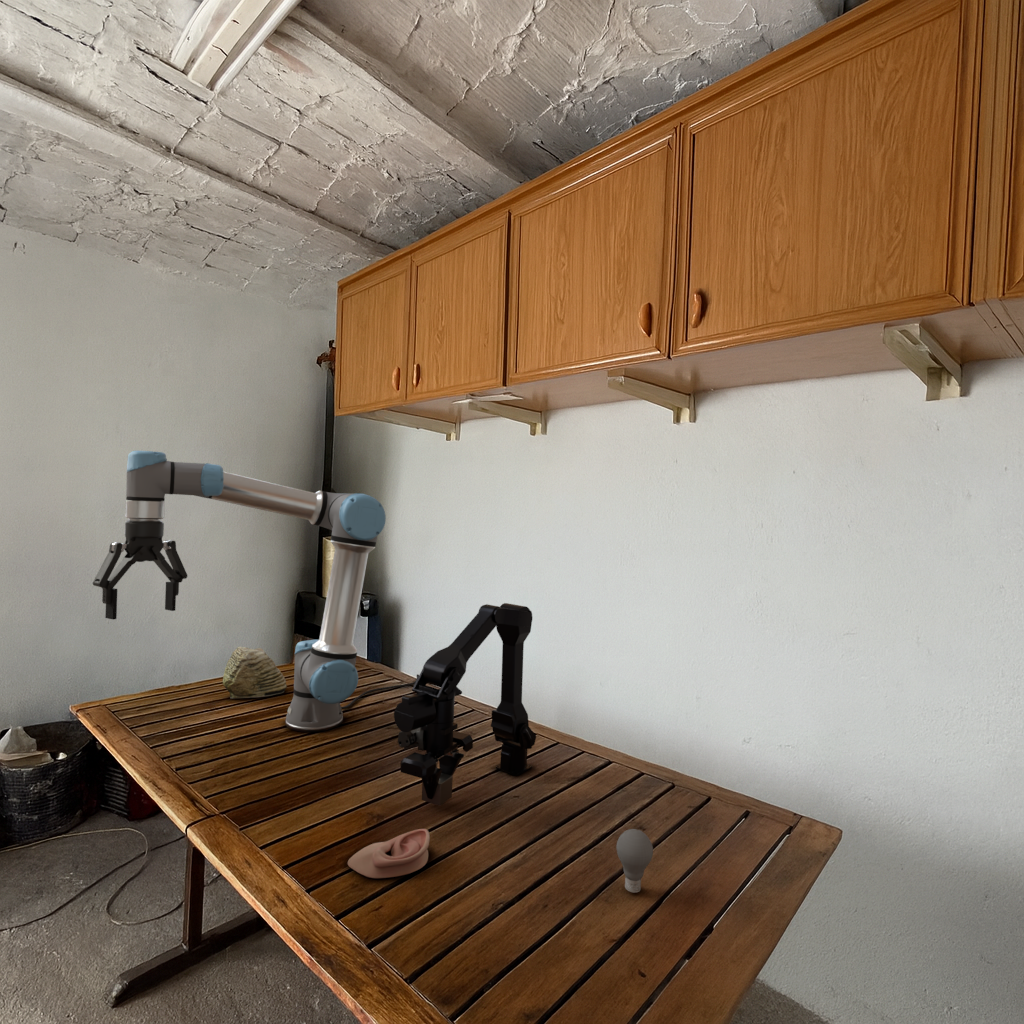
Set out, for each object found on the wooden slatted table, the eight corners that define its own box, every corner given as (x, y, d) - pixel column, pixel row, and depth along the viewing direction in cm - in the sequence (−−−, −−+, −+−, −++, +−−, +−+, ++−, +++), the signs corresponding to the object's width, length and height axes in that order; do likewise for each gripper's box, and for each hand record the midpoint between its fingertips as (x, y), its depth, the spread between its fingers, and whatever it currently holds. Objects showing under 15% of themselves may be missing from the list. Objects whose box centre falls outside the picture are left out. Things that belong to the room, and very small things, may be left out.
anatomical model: (339, 849, 107) (368, 816, 118) (339, 872, 107) (367, 837, 118) (414, 862, 104) (436, 827, 115) (413, 885, 104) (435, 848, 116)
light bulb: (610, 879, 108) (613, 822, 108) (644, 879, 109) (647, 822, 109) (619, 902, 102) (622, 840, 102) (655, 901, 103) (658, 840, 103)
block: (433, 791, 134) (434, 770, 134) (451, 797, 132) (452, 775, 132) (421, 800, 131) (422, 778, 130) (439, 805, 128) (440, 783, 128)
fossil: (218, 695, 195) (220, 647, 195) (278, 685, 208) (279, 640, 207) (228, 703, 189) (230, 653, 188) (289, 692, 201) (290, 645, 201)
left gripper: (185, 518, 155) (182, 605, 155) (75, 519, 133) (72, 620, 133) (205, 520, 151) (202, 608, 152) (96, 521, 129) (93, 624, 130)
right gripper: (433, 700, 143) (430, 768, 143) (380, 724, 127) (377, 802, 127) (475, 709, 138) (472, 780, 138) (426, 736, 121) (422, 817, 122)
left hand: (141, 614), depth 142 cm, fingers open, 13 cm apart
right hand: (436, 793), depth 131 cm, fingers closed on block, 4 cm apart
